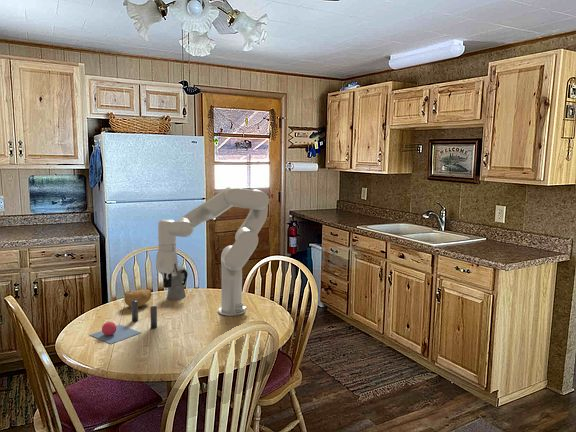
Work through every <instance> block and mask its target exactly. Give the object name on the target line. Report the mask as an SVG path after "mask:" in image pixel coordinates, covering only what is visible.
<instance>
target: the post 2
mask: <svg viewBox="0 0 576 432" xmlns="http://www.w3.org/2000/svg"><path fill="white" fill-rule="evenodd" d="M149 311H150V312H149V313H150V329H152V330H153V329H157V328H158V307H157V306H156V305H151V306H150V310H149Z"/></svg>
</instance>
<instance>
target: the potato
mask: <svg viewBox="0 0 576 432" xmlns="http://www.w3.org/2000/svg"><path fill="white" fill-rule="evenodd" d="M151 298H152V291H151V290H150V289H147V288H146V289H145V288H143V289H142V288H141V289H137V290H133V291H130V292H126V294H125V295H124V298H123V300H124V303H125V304H126V306H127V307H131V308H132V301H133V300H138V308H141V307H143V306H145V305H146V304H147V303H148V302H149V301H150V299H151Z"/></svg>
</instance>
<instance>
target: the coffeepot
mask: <svg viewBox="0 0 576 432" xmlns="http://www.w3.org/2000/svg"><path fill="white" fill-rule="evenodd" d="M176 274H177V275H176V276H173V278H171V280H172V286H171V287H169V288H167V293H166V297H167V298H168V299H169V300H182V299H184V298H185V297H186V292H185V287H184V286H185V285H186V284H187V279H188V271H187V270H186V268H185V267H184V266H179V265H178V271H177V272H176Z"/></svg>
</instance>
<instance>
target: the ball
mask: <svg viewBox="0 0 576 432" xmlns="http://www.w3.org/2000/svg"><path fill="white" fill-rule="evenodd" d="M116 326H117V324H116V323H115V322H113V321H107V322H105V323H104V324H103V325H102V327H101V331H102V332H103V334H104V335H106V336H111V335H113V334H114V333H115V332H116Z"/></svg>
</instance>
